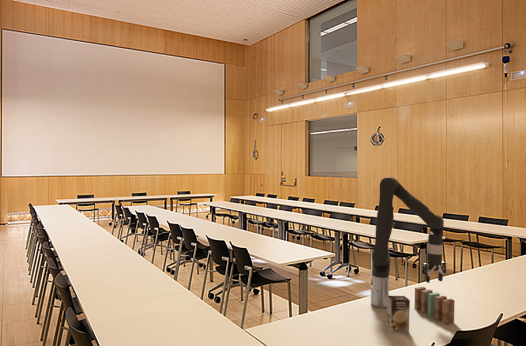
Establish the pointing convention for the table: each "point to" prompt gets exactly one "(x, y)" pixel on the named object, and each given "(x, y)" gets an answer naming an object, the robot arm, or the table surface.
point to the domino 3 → (432, 303)
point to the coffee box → (398, 313)
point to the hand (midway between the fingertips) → (433, 281)
